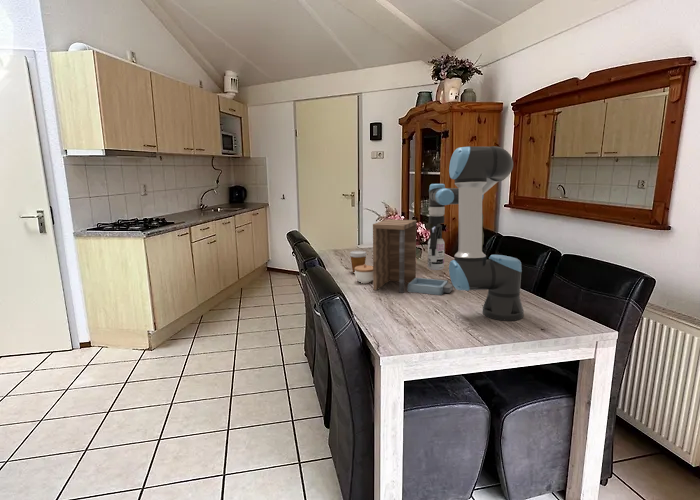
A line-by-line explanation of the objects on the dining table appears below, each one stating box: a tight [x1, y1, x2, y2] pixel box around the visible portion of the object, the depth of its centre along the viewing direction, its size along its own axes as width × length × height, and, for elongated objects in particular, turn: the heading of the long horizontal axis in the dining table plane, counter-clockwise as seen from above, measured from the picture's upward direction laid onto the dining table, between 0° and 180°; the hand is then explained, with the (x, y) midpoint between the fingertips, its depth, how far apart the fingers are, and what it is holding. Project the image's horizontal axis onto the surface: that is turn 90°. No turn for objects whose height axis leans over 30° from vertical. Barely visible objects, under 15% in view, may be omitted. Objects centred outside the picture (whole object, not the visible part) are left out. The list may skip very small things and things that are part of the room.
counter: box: [372, 218, 417, 294], centre depth 199 cm, size 20×15×32 cm
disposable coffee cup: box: [349, 250, 368, 273], centre depth 229 cm, size 10×10×12 cm
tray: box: [407, 277, 454, 296], centre depth 194 cm, size 13×19×4 cm
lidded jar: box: [354, 263, 373, 284], centre depth 210 cm, size 11×11×9 cm
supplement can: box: [427, 238, 445, 271], centre depth 206 cm, size 8×8×15 cm
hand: (435, 260), depth 207 cm, fingers closed on supplement can, 8 cm apart
